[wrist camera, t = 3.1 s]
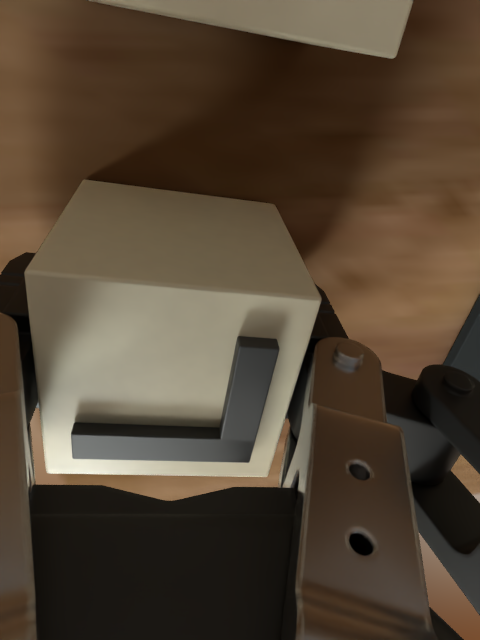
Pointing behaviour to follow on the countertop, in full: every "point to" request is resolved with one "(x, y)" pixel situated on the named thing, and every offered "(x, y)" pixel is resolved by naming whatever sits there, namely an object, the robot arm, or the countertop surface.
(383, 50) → the tile
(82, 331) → the tile
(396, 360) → the countertop surface
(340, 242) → the countertop surface
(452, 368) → the robot arm
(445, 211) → the countertop surface
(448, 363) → the word mat
